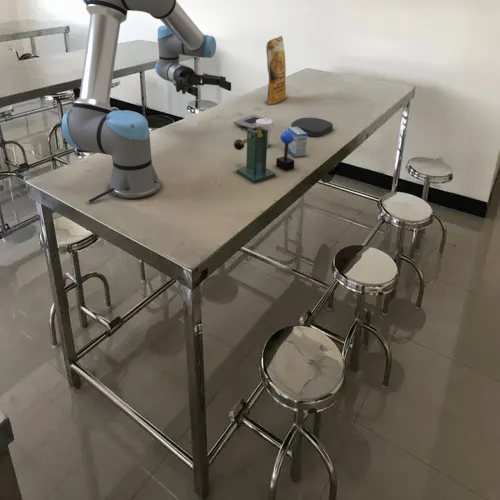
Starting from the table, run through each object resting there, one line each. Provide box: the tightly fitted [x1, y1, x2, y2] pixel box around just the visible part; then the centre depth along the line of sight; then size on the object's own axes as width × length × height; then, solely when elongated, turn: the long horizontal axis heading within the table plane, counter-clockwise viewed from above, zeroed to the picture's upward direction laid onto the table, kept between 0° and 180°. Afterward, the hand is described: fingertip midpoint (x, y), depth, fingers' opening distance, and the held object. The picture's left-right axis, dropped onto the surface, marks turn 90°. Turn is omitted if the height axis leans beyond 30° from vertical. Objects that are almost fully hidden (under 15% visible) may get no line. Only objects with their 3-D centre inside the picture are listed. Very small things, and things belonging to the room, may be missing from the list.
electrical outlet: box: [232, 114, 268, 130], centre depth 203 cm, size 13×10×2 cm
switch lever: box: [233, 129, 263, 151], centre depth 162 cm, size 15×4×4 cm
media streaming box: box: [290, 117, 334, 137], centre depth 201 cm, size 15×15×3 cm
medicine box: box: [287, 126, 309, 158], centre depth 179 cm, size 8×4×9 cm, turn 23°
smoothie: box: [256, 108, 274, 148], centre depth 182 cm, size 6×6×14 cm
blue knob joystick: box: [275, 130, 295, 172], centre depth 166 cm, size 4×5×13 cm
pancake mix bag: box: [265, 35, 287, 105], centre depth 227 cm, size 7×19×28 cm, turn 149°
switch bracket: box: [236, 126, 276, 184], centre depth 160 cm, size 10×9×16 cm
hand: (213, 89), depth 166 cm, fingers open, 13 cm apart
